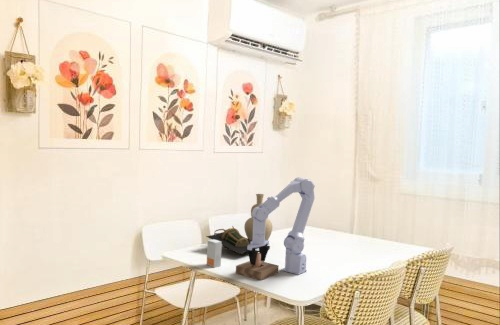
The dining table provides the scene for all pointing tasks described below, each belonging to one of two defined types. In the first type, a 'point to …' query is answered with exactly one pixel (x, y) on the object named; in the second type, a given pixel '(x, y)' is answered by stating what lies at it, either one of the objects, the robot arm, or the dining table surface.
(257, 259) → the peg
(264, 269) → the socket block
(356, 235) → the dining table surface
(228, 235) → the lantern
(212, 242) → the skincare box
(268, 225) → the vase
